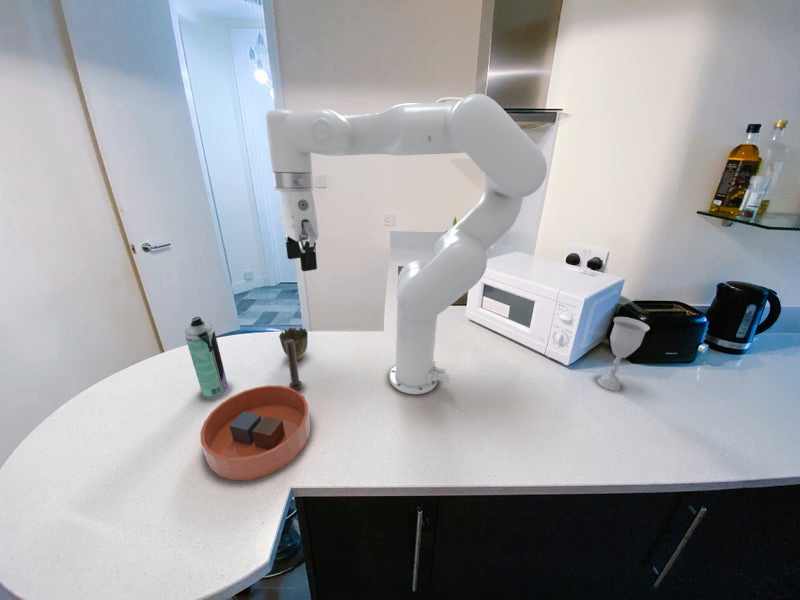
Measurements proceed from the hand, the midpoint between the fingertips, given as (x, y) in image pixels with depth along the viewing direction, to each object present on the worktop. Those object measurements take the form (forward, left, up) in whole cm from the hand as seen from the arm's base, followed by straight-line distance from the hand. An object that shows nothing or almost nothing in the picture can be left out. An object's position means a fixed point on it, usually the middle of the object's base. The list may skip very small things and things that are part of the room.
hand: (301, 263), depth 70 cm
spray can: (+19, +12, -31) cm, 38 cm away
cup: (+8, -6, -31) cm, 33 cm away
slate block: (+3, +22, -30) cm, 37 cm away
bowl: (0, +21, -31) cm, 37 cm away
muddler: (+1, +6, -31) cm, 31 cm away
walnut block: (-2, +22, -30) cm, 37 cm away
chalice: (-76, -18, -31) cm, 84 cm away
